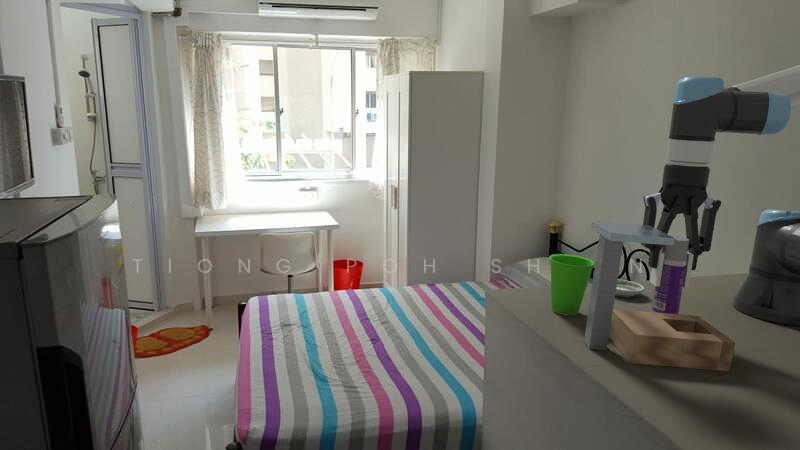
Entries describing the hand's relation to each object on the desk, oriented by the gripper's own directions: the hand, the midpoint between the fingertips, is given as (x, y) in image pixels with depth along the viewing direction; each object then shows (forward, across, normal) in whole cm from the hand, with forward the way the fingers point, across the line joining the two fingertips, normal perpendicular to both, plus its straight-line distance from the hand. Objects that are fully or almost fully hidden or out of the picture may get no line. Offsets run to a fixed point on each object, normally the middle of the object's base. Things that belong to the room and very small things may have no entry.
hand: (669, 284), depth 106 cm
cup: (+9, +18, -5) cm, 20 cm away
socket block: (+9, +5, +12) cm, 16 cm away
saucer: (+9, +1, -21) cm, 23 cm away
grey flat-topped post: (+8, +14, +12) cm, 20 cm away
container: (+6, 0, 0) cm, 6 cm away
